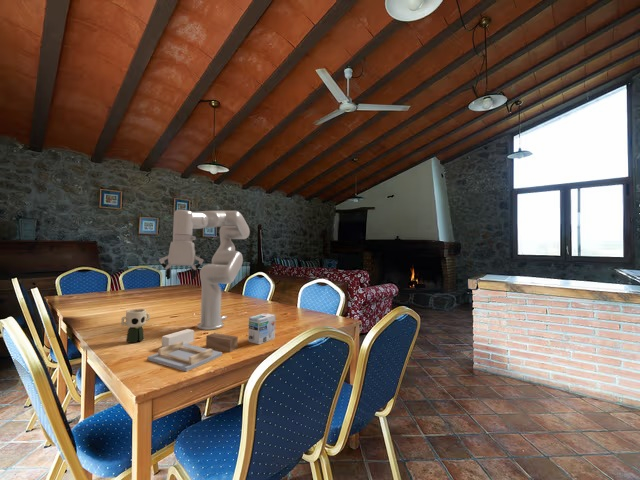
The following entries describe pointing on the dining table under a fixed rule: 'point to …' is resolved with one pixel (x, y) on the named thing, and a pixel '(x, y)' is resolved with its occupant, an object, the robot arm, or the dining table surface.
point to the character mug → (135, 324)
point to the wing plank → (178, 337)
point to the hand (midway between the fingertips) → (181, 278)
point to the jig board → (183, 355)
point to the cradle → (177, 346)
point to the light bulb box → (261, 328)
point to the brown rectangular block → (221, 342)
